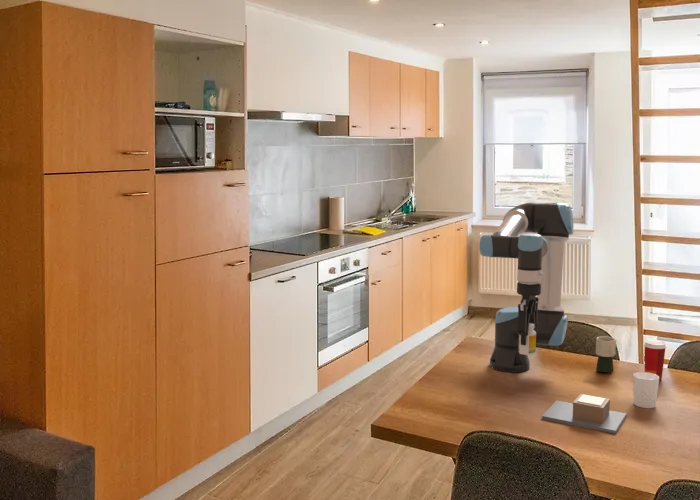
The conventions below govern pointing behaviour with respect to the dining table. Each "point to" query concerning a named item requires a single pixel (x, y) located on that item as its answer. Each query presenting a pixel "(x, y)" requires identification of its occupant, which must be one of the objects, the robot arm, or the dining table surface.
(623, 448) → the dining table surface
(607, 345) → the character mug
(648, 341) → the paper cup
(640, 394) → the white cup
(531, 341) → the supplement bottle
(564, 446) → the dining table surface
